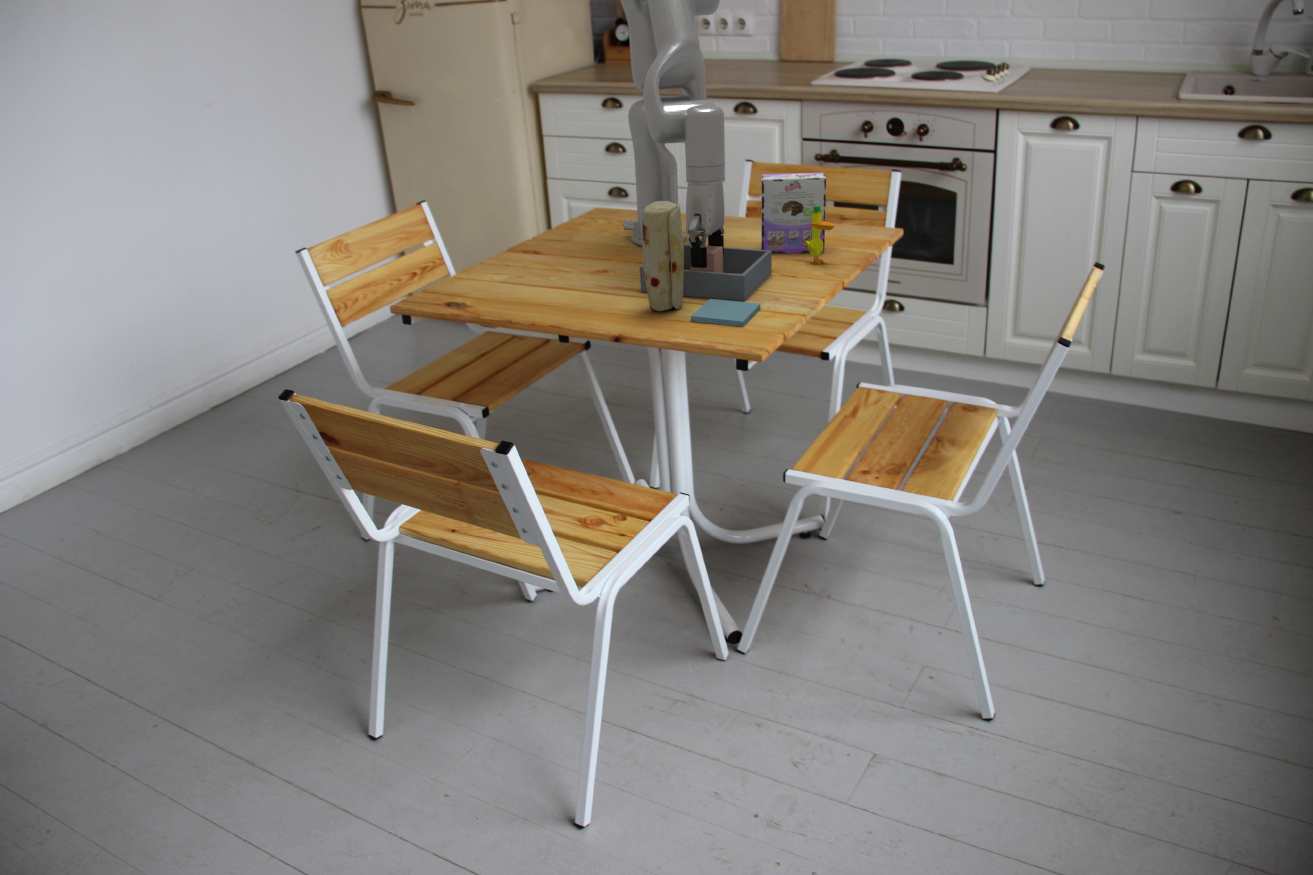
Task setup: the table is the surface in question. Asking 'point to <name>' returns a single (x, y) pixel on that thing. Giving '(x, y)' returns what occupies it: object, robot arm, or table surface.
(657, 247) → the food model
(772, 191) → the candy box
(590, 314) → the table surface
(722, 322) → the pad
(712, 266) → the block
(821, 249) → the toy figure
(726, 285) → the crate
